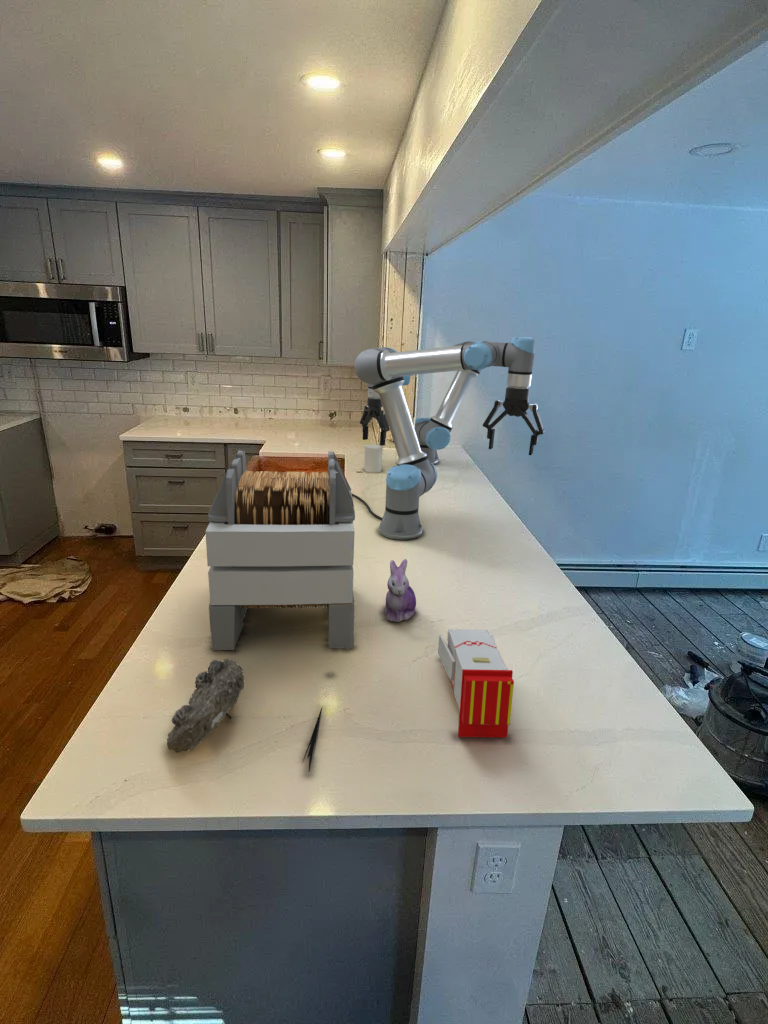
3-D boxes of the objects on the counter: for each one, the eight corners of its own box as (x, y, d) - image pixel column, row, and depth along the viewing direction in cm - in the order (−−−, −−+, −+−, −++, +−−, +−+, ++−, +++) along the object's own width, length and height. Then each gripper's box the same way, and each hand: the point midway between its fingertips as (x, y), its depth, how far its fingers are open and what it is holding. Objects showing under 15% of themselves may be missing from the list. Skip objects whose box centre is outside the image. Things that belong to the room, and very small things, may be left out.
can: (381, 473, 272) (382, 448, 268) (363, 472, 273) (364, 447, 269) (382, 468, 280) (383, 444, 276) (364, 467, 281) (365, 443, 277)
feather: (331, 679, 122) (336, 673, 122) (307, 777, 96) (313, 769, 95) (324, 675, 122) (329, 669, 121) (298, 772, 95) (304, 764, 95)
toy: (488, 613, 130) (523, 677, 101) (484, 667, 133) (517, 744, 104) (435, 612, 130) (455, 676, 101) (432, 666, 133) (451, 743, 103)
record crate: (231, 583, 159) (223, 441, 145) (347, 582, 163) (350, 443, 149) (209, 653, 127) (196, 479, 114) (354, 649, 131) (359, 481, 117)
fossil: (192, 660, 117) (244, 628, 112) (224, 691, 120) (276, 661, 115) (142, 746, 98) (202, 712, 93) (182, 779, 101) (242, 748, 96)
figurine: (392, 627, 141) (395, 572, 136) (374, 608, 149) (376, 556, 144) (425, 619, 145) (429, 566, 140) (405, 601, 154) (408, 550, 149)
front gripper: (559, 389, 181) (550, 454, 188) (484, 382, 191) (478, 444, 198) (555, 392, 174) (545, 459, 182) (477, 384, 185) (471, 448, 192)
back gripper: (353, 394, 271) (352, 437, 279) (385, 402, 253) (383, 448, 260) (366, 393, 276) (364, 436, 283) (398, 401, 258) (396, 447, 265)
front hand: (510, 451), depth 190 cm, fingers open, 13 cm apart
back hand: (373, 442), depth 272 cm, fingers open, 13 cm apart
